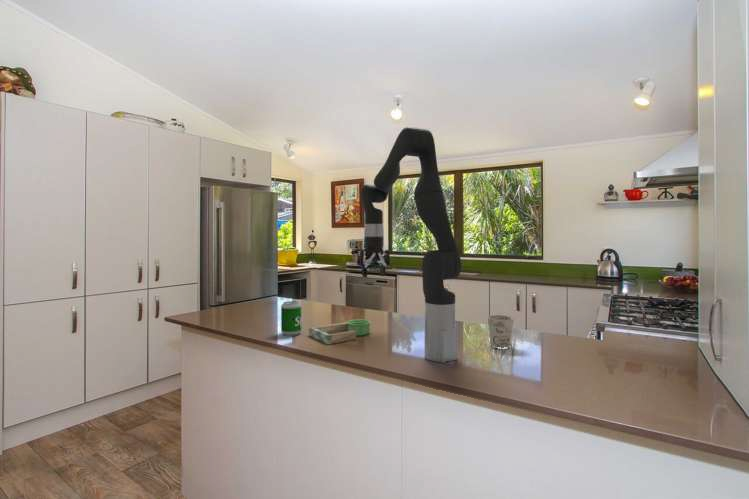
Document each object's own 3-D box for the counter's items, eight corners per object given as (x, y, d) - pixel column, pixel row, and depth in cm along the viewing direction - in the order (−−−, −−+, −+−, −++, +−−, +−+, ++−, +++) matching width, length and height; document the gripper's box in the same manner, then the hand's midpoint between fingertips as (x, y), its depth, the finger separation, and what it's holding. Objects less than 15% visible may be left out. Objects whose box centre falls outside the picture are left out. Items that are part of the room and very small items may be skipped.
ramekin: (371, 330, 159) (371, 319, 159) (369, 336, 150) (369, 324, 150) (349, 330, 160) (349, 319, 160) (345, 335, 151) (345, 324, 151)
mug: (484, 348, 134) (485, 318, 134) (492, 339, 146) (492, 312, 145) (510, 352, 131) (511, 321, 130) (516, 342, 142) (517, 314, 141)
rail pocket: (376, 335, 150) (376, 327, 150) (327, 344, 139) (327, 335, 139) (355, 328, 162) (355, 320, 162) (309, 335, 151) (309, 327, 151)
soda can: (290, 337, 148) (290, 305, 147) (277, 334, 152) (276, 302, 152) (305, 333, 154) (305, 302, 153) (292, 330, 158) (292, 300, 158)
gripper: (364, 235, 152) (364, 278, 152) (394, 235, 160) (393, 276, 161) (353, 235, 158) (353, 276, 158) (382, 235, 166) (382, 274, 167)
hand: (373, 276), depth 159 cm, fingers open, 8 cm apart
